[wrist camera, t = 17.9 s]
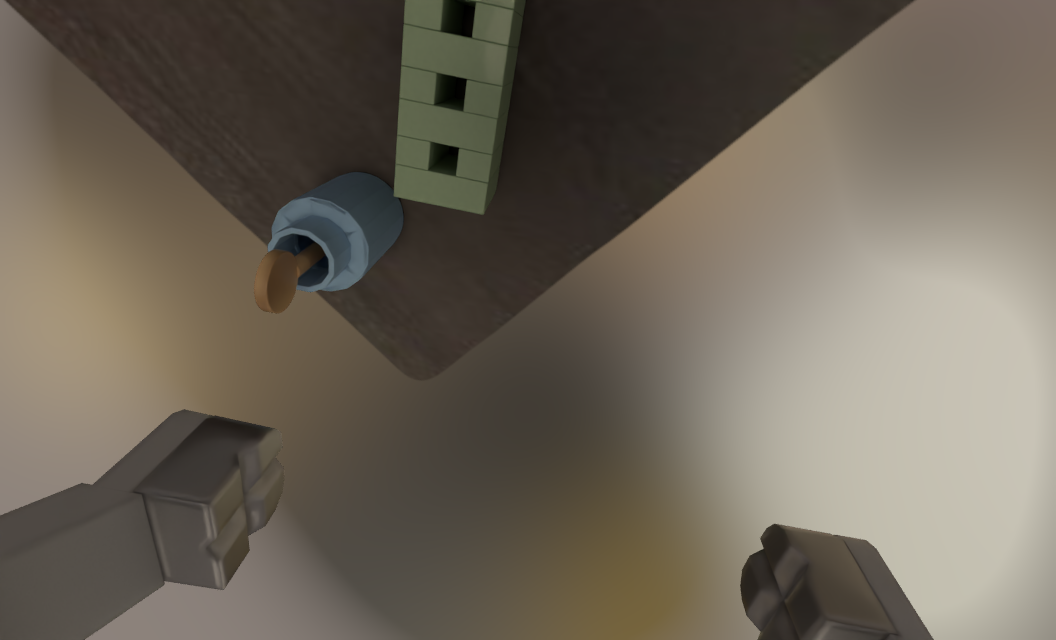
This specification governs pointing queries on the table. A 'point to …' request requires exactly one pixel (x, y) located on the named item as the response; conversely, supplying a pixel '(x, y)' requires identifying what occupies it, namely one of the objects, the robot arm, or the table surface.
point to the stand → (455, 100)
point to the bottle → (340, 229)
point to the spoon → (282, 276)
